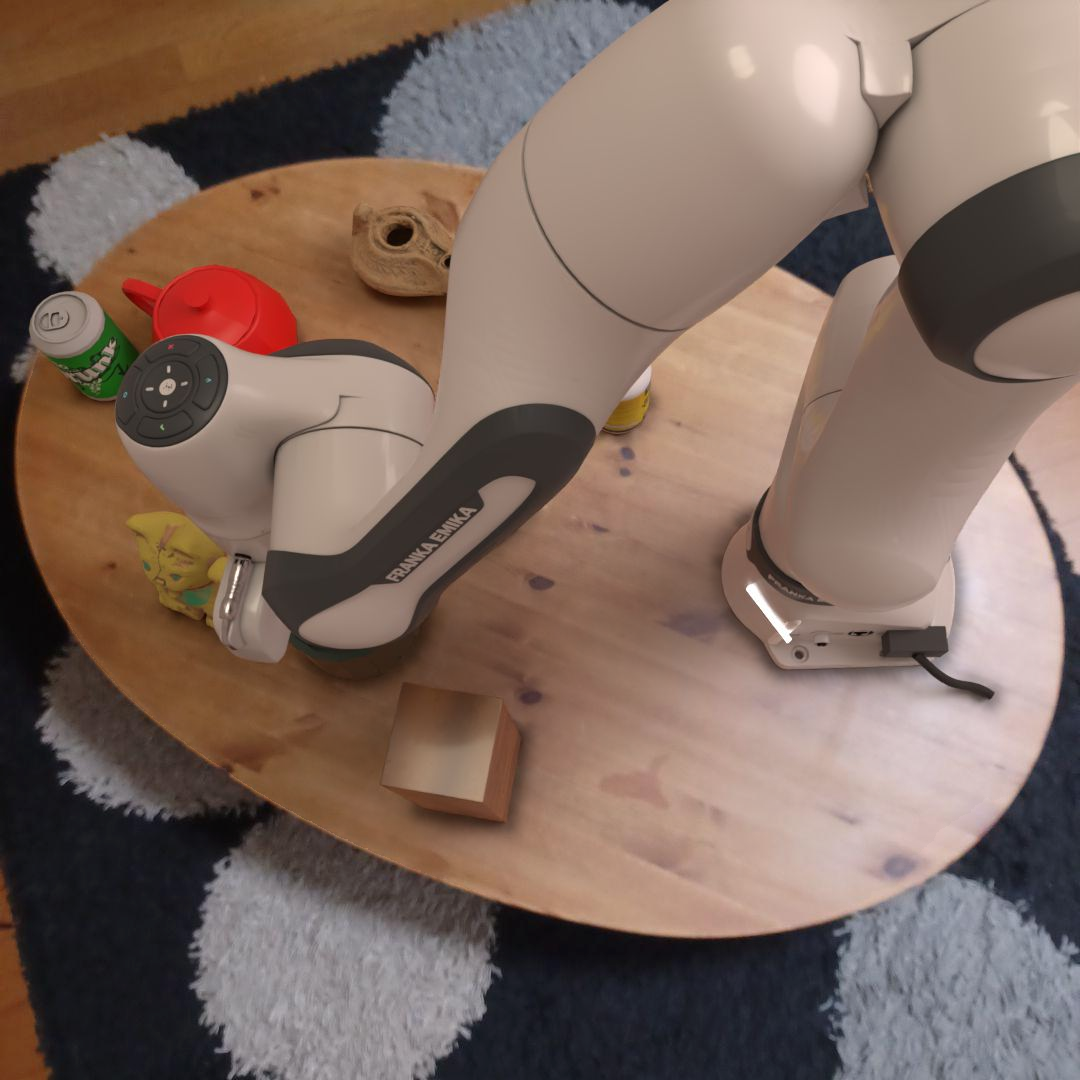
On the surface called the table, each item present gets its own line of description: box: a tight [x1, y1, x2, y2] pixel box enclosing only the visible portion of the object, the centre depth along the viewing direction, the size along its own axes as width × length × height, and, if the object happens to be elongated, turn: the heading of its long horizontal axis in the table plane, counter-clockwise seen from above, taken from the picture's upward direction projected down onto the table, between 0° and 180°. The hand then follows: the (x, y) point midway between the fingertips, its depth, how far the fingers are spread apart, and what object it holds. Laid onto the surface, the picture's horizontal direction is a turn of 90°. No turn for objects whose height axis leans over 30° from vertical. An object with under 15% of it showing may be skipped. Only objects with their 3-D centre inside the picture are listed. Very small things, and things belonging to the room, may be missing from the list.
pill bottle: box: [601, 364, 653, 435], centre depth 102 cm, size 6×6×12 cm
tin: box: [288, 622, 423, 681], centre depth 97 cm, size 12×12×8 cm
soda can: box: [28, 290, 141, 402], centre depth 107 cm, size 8×8×12 cm
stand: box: [379, 681, 522, 823], centre depth 86 cm, size 8×8×20 cm
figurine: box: [124, 510, 229, 629], centre depth 96 cm, size 11×9×15 cm
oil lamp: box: [349, 201, 454, 297], centre depth 111 cm, size 11×15×8 cm
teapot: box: [121, 263, 299, 355], centre depth 106 cm, size 25×16×12 cm, turn 64°
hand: (309, 558), depth 83 cm, fingers closed on block, 4 cm apart
